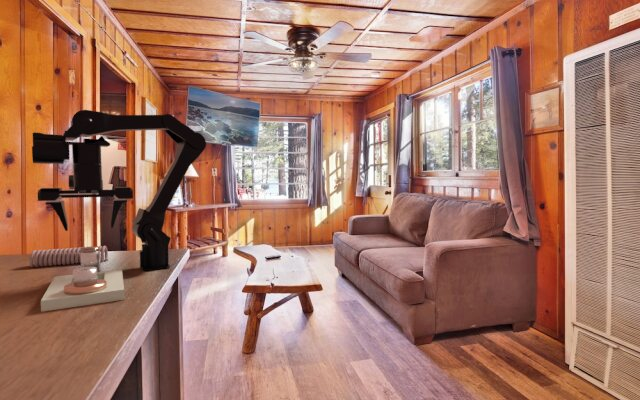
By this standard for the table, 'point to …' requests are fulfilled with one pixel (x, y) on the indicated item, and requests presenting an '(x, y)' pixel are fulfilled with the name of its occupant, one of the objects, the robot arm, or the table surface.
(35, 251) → the coil
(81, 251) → the loose cylinder
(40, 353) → the table surface
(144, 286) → the table surface
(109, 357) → the table surface
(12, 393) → the table surface
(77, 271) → the copper flanged knob
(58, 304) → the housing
